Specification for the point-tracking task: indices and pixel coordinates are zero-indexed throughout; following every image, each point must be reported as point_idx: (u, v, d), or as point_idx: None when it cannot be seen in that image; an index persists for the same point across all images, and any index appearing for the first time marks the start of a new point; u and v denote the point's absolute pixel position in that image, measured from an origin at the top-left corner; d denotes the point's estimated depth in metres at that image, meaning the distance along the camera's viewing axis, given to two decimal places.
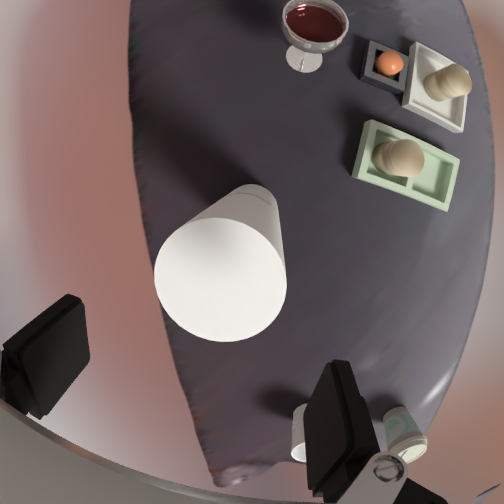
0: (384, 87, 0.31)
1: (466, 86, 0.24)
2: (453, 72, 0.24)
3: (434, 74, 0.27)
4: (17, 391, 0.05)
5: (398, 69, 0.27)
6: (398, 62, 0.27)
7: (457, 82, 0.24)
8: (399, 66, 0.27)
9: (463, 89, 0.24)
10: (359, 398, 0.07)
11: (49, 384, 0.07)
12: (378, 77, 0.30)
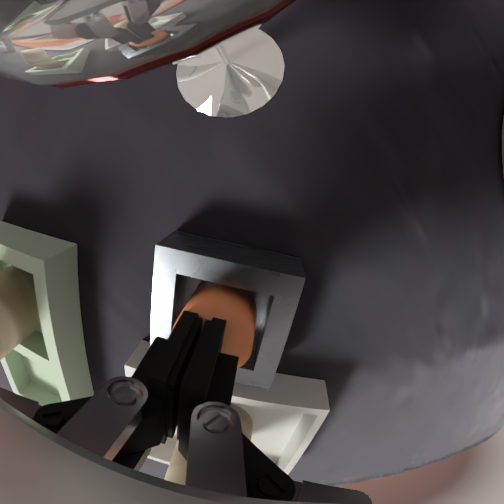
0: None
1: None
2: None
3: None
4: (160, 421, 0.07)
5: None
6: None
7: None
8: None
9: None
10: (217, 350, 0.08)
11: None
12: (161, 292, 0.12)
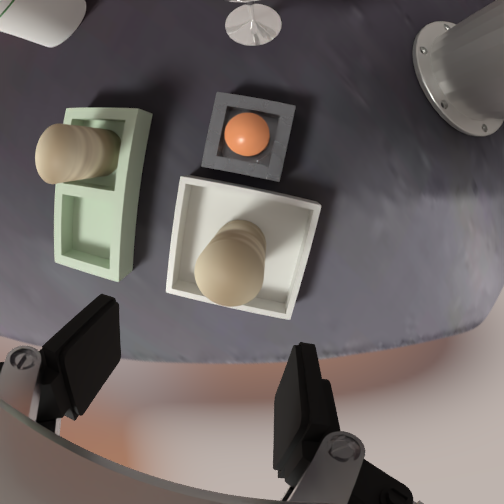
0: None
1: (216, 290, 0.18)
2: (237, 259, 0.18)
3: (248, 230, 0.21)
4: (57, 393, 0.06)
5: (231, 144, 0.20)
6: (246, 145, 0.20)
7: (216, 266, 0.18)
8: (238, 146, 0.20)
9: (206, 281, 0.18)
10: (320, 378, 0.08)
11: (86, 384, 0.08)
12: (217, 117, 0.20)
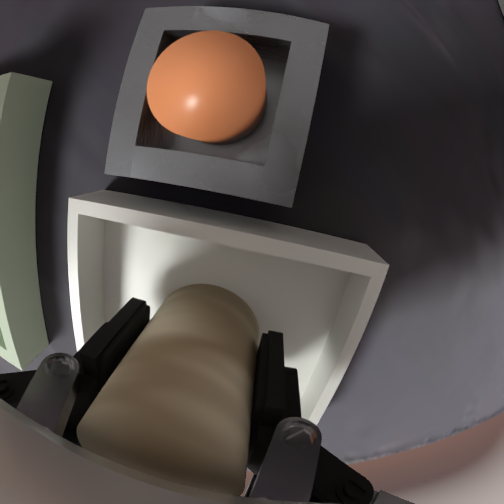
0: None
1: None
2: (168, 455, 0.05)
3: (211, 334, 0.08)
4: None
5: (162, 111, 0.07)
6: (202, 111, 0.07)
7: (122, 454, 0.05)
8: (179, 116, 0.07)
9: None
10: (283, 365, 0.08)
11: None
12: (140, 56, 0.07)
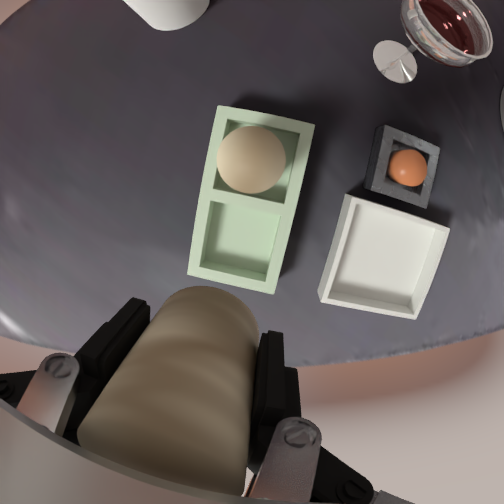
0: (371, 163, 0.24)
1: None
2: (168, 458, 0.05)
3: (211, 337, 0.08)
4: (94, 400, 0.07)
5: (400, 175, 0.21)
6: (411, 177, 0.21)
7: (122, 456, 0.05)
8: (405, 178, 0.21)
9: None
10: (283, 365, 0.08)
11: None
12: (385, 147, 0.22)
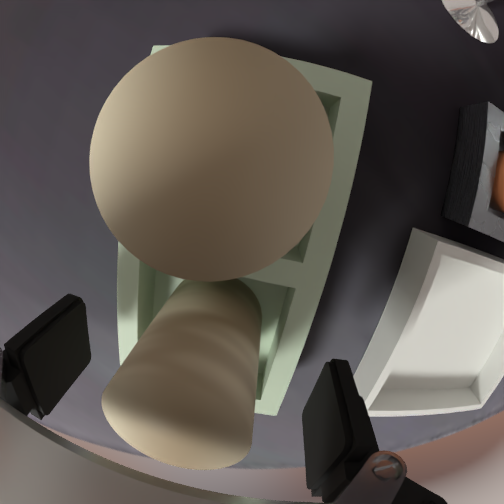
0: (460, 172, 0.11)
1: (154, 447, 0.07)
2: (186, 411, 0.06)
3: (221, 312, 0.10)
4: (19, 391, 0.05)
5: None
6: None
7: (143, 415, 0.06)
8: None
9: (129, 431, 0.07)
10: (358, 397, 0.07)
11: (50, 384, 0.07)
12: (491, 144, 0.09)
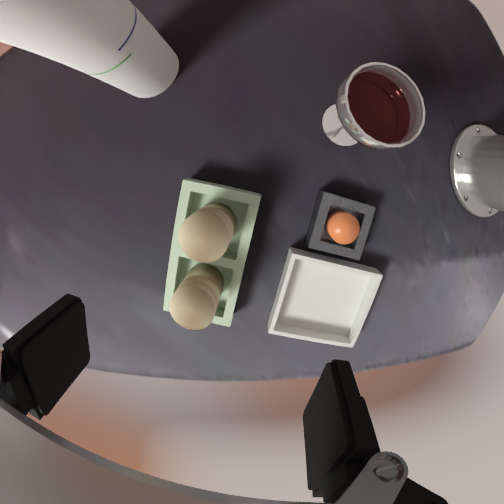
0: (311, 222, 0.31)
1: (184, 319, 0.27)
2: (196, 299, 0.26)
3: (207, 276, 0.29)
4: (17, 391, 0.05)
5: (334, 236, 0.28)
6: (344, 237, 0.28)
7: (183, 304, 0.26)
8: (338, 237, 0.29)
9: (177, 312, 0.26)
10: (359, 398, 0.07)
11: (49, 384, 0.07)
12: (322, 211, 0.29)
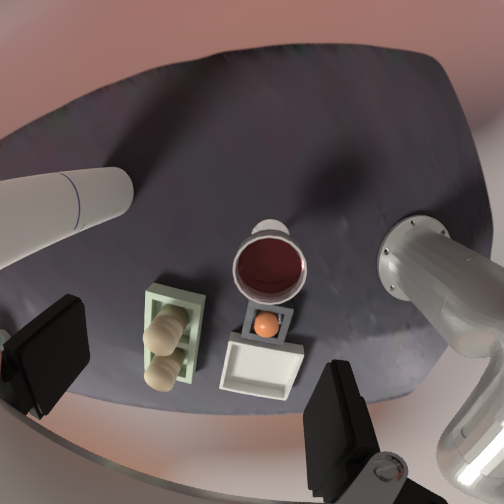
0: None
1: (154, 385, 0.36)
2: (160, 375, 0.36)
3: (170, 355, 0.39)
4: (17, 391, 0.05)
5: (258, 332, 0.38)
6: (266, 332, 0.38)
7: (152, 376, 0.36)
8: (261, 333, 0.38)
9: (149, 381, 0.36)
10: (359, 398, 0.07)
11: (49, 384, 0.07)
12: (249, 314, 0.38)
